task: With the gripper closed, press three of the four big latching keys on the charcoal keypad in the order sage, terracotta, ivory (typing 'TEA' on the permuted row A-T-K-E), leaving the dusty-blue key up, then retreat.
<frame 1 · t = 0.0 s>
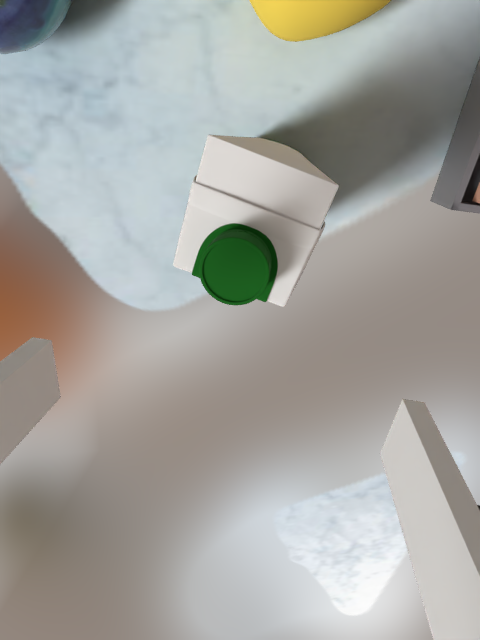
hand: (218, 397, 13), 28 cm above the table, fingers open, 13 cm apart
milk carton: (267, 189, 37), on the table
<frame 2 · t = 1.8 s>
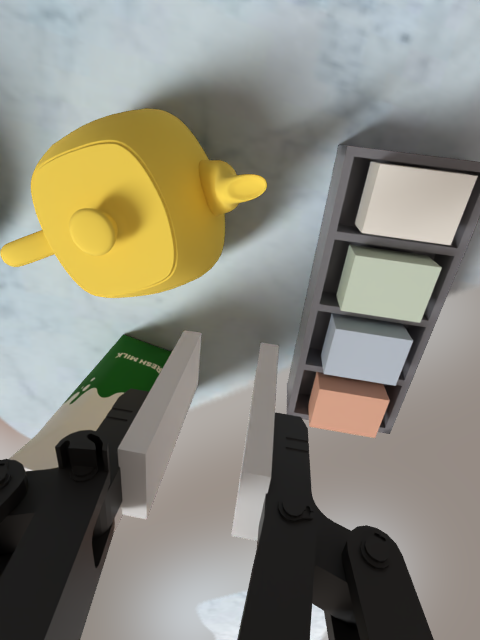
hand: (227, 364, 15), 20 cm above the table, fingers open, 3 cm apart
teapot: (167, 199, 32), on the table
key E: (345, 403, 33), point 5 cm above the table, slide at 0.0 cm
key K: (363, 348, 30), point 5 cm above the table, slide at 0.0 cm
key T: (384, 282, 27), point 5 cm above the table, slide at 0.0 cm
keypad base: (361, 292, 33), on the table
milk carton: (147, 367, 41), on the table
key A: (409, 202, 25), point 5 cm above the table, slide at 0.0 cm
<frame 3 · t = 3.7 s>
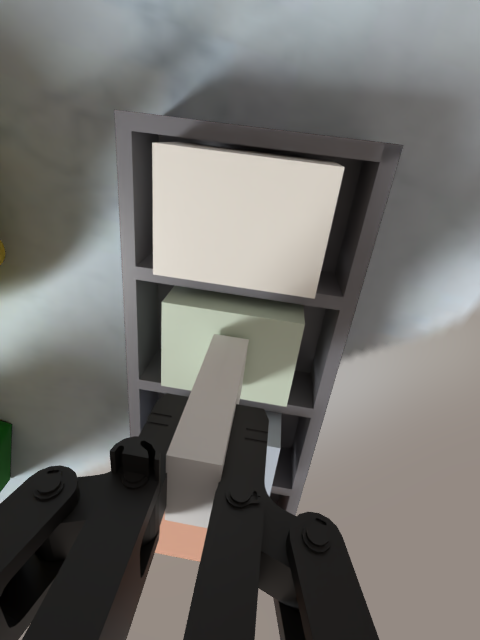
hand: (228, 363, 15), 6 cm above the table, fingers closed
key E: (210, 516, 22), point 5 cm above the table, slide at 0.0 cm
key K: (218, 446, 19), point 5 cm above the table, slide at 0.0 cm
key T: (232, 340, 17), point 4 cm above the table, slide at 1.0 cm, touching gripper
keypad base: (237, 346, 22), on the table
key A: (244, 217, 13), point 5 cm above the table, slide at 0.0 cm
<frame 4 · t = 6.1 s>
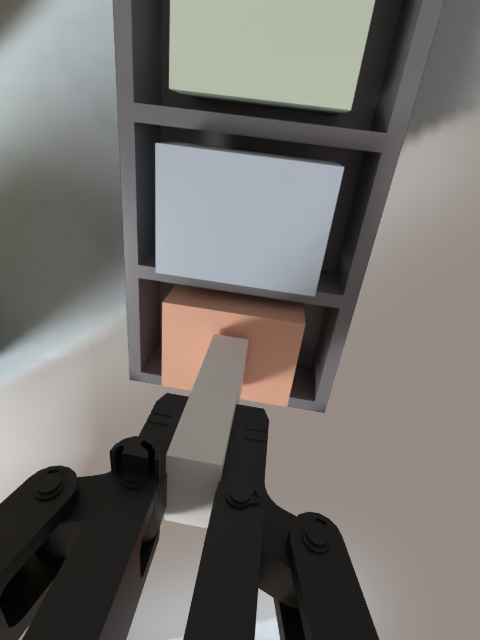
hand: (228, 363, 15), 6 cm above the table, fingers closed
key E: (232, 340, 17), point 4 cm above the table, slide at 0.8 cm, touching gripper
key K: (245, 216, 13), point 5 cm above the table, slide at 0.0 cm
key T: (270, 26, 12), point 4 cm above the table, slide at 1.4 cm
keypad base: (265, 130, 17), on the table
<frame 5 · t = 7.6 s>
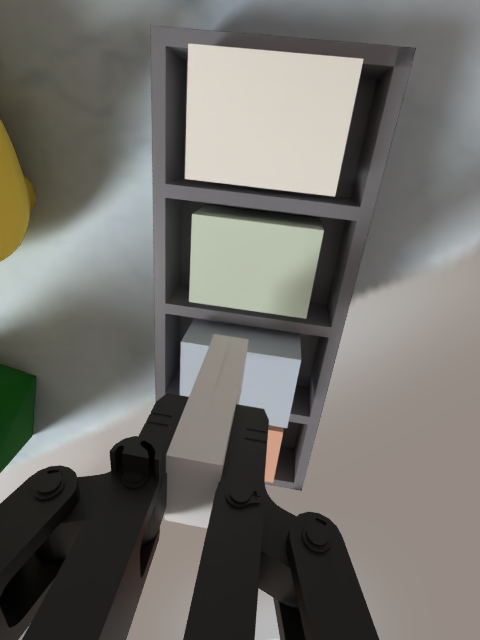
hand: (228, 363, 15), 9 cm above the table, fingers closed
key E: (234, 433, 24), point 4 cm above the table, slide at 1.3 cm
key K: (240, 370, 20), point 5 cm above the table, slide at 0.0 cm
key T: (254, 259, 18), point 4 cm above the table, slide at 1.4 cm
keypad base: (255, 286, 23), on the table
key A: (268, 126, 14), point 5 cm above the table, slide at 0.0 cm
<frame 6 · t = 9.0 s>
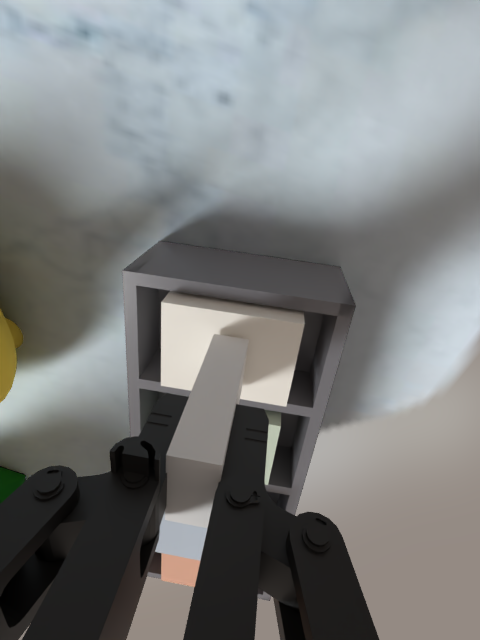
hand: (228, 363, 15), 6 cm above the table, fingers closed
key E: (208, 549, 26), point 4 cm above the table, slide at 1.3 cm
key K: (210, 515, 22), point 5 cm above the table, slide at 0.0 cm
key T: (222, 427, 20), point 4 cm above the table, slide at 1.4 cm
keypad base: (228, 418, 25), on the table
key A: (232, 340, 17), point 4 cm above the table, slide at 1.0 cm, touching gripper
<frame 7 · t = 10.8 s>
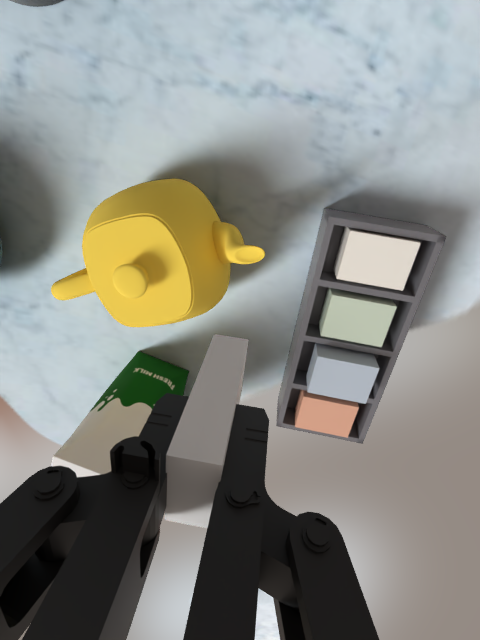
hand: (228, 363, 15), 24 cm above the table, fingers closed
teapot: (182, 242, 39), on the table
key E: (324, 408, 41), point 4 cm above the table, slide at 1.3 cm
key K: (340, 372, 37), point 5 cm above the table, slide at 0.0 cm
key T: (354, 315, 35), point 4 cm above the table, slide at 1.4 cm
keypad base: (341, 324, 40), on the table
milk carton: (157, 380, 47), on the table
key A: (373, 256, 33), point 4 cm above the table, slide at 1.4 cm
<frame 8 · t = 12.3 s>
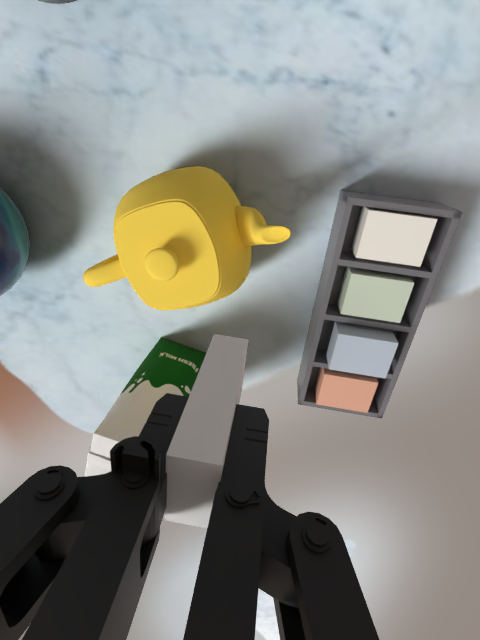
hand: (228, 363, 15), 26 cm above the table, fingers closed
teapot: (203, 229, 40), on the table
key E: (344, 385, 42), point 4 cm above the table, slide at 1.3 cm
key K: (360, 349, 38), point 5 cm above the table, slide at 0.0 cm
key T: (373, 293, 36), point 4 cm above the table, slide at 1.4 cm
keypad base: (358, 303, 41), on the table
milk carton: (180, 365, 49), on the table
key A: (391, 235, 34), point 4 cm above the table, slide at 1.4 cm
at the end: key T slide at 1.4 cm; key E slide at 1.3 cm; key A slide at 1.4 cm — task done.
